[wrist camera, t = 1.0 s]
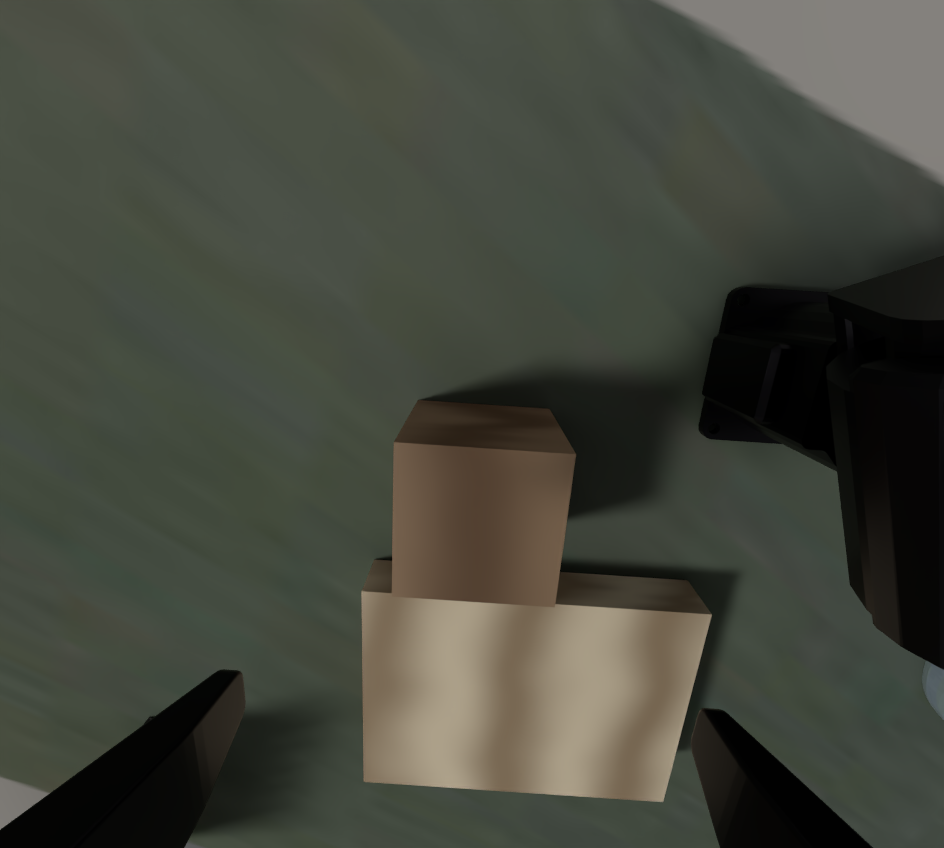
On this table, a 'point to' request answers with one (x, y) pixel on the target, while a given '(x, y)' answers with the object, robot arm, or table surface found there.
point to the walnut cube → (480, 504)
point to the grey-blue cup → (934, 687)
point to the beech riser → (531, 687)
